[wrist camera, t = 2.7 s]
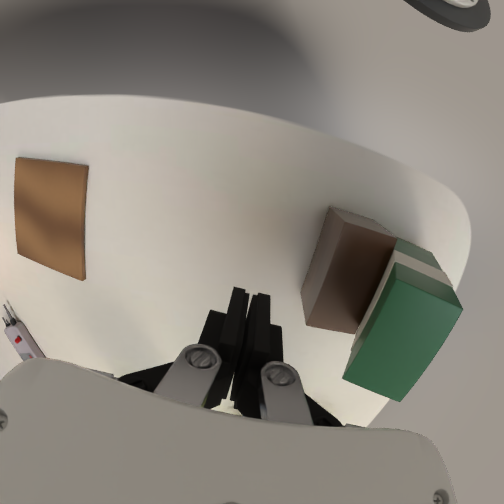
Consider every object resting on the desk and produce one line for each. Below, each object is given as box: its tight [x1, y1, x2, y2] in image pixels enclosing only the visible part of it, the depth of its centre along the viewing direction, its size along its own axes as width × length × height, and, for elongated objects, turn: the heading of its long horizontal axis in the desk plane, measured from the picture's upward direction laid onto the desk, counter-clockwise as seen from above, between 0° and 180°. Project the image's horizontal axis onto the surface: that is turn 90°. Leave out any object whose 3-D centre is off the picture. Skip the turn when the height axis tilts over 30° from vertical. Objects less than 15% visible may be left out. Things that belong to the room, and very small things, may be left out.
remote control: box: [2, 304, 45, 361], centre depth 30 cm, size 7×16×3 cm, turn 20°
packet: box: [342, 237, 463, 402], centre depth 17 cm, size 9×7×12 cm
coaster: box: [14, 157, 89, 281], centre depth 23 cm, size 12×12×1 cm
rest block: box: [300, 206, 397, 334], centre depth 20 cm, size 8×4×5 cm, turn 166°
